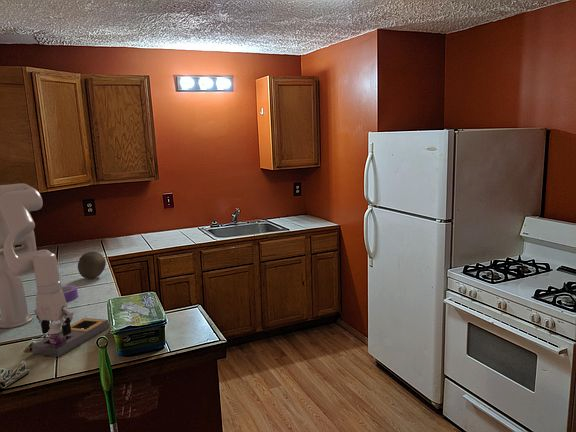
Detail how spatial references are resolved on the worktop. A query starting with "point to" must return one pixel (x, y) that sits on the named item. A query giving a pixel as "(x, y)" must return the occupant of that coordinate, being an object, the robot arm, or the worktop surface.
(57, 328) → the pill bottle
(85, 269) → the cantaloupe
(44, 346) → the hole rail
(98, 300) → the worktop surface
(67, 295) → the tape roll
